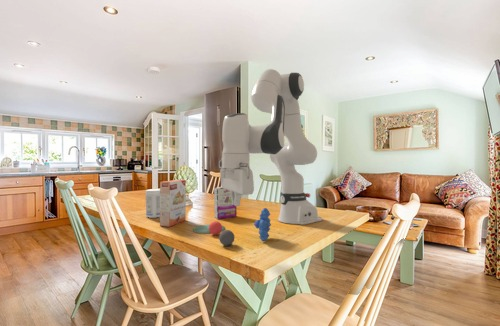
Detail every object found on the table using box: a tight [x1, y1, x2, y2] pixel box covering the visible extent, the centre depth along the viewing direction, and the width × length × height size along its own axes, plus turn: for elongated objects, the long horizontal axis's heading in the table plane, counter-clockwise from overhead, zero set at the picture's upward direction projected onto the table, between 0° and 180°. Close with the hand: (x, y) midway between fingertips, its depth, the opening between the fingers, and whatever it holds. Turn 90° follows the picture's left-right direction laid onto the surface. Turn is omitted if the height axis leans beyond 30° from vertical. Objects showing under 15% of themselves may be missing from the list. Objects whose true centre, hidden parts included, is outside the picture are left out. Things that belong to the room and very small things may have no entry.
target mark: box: [192, 223, 226, 235], centre depth 111 cm, size 14×14×1 cm
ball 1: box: [208, 220, 223, 236], centre depth 103 cm, size 6×6×6 cm
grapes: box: [253, 207, 272, 242], centre depth 96 cm, size 12×7×12 cm, turn 168°
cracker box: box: [159, 179, 187, 228], centre depth 122 cm, size 14×6×21 cm, turn 164°
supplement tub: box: [145, 188, 160, 219], centre depth 137 cm, size 10×10×15 cm
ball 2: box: [218, 229, 235, 247], centre depth 90 cm, size 6×6×6 cm
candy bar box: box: [213, 186, 238, 220], centre depth 134 cm, size 11×5×16 cm, turn 119°
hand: (236, 205), depth 81 cm, fingers closed
